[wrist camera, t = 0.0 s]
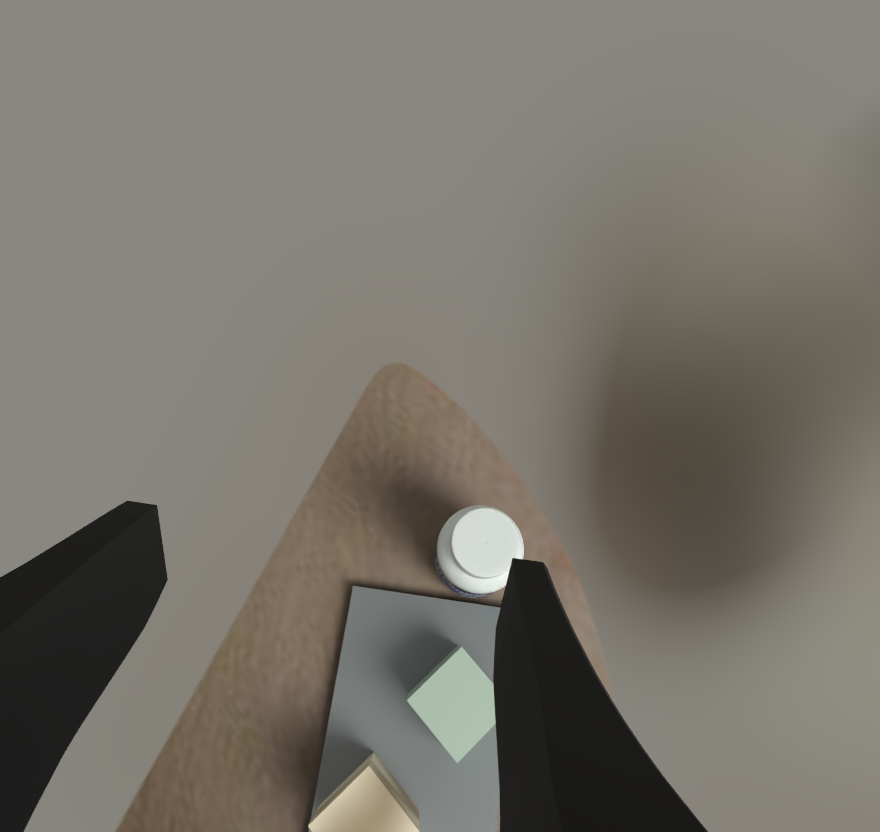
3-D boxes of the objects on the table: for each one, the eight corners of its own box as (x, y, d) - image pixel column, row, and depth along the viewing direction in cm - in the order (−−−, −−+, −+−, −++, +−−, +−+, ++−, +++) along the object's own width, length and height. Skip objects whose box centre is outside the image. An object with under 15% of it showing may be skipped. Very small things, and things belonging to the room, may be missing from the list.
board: (486, 917, 37) (487, 923, 36) (299, 888, 37) (297, 894, 37) (515, 610, 43) (516, 610, 42) (354, 586, 43) (353, 585, 43)
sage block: (503, 699, 41) (512, 706, 37) (453, 750, 39) (457, 763, 36) (457, 645, 42) (461, 646, 38) (407, 693, 40) (406, 700, 37)
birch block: (419, 809, 38) (419, 831, 34) (364, 866, 37) (358, 896, 33) (374, 751, 39) (368, 765, 35) (319, 804, 38) (307, 826, 34)
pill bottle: (419, 570, 44) (420, 554, 35) (460, 508, 45) (471, 478, 36) (482, 614, 43) (500, 610, 34) (522, 550, 45) (549, 529, 35)
